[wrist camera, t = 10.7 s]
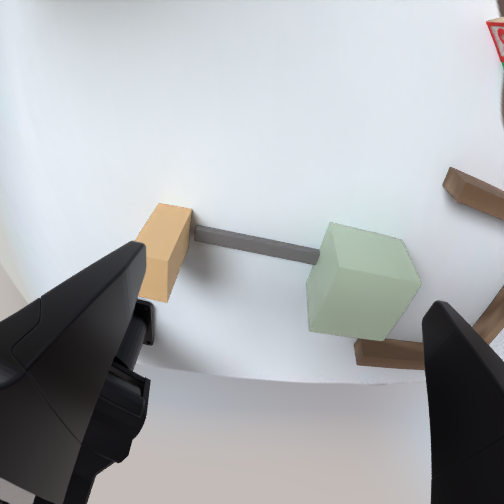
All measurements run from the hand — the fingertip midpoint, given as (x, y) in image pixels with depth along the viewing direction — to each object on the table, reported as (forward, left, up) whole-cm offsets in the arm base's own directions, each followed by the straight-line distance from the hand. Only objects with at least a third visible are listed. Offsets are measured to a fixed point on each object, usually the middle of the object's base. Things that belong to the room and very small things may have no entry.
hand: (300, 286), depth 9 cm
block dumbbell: (-8, -1, -13) cm, 15 cm away
